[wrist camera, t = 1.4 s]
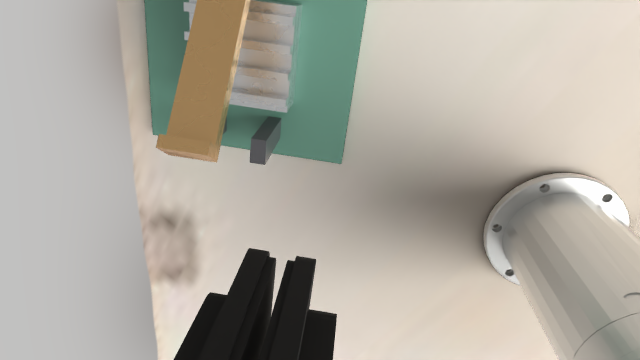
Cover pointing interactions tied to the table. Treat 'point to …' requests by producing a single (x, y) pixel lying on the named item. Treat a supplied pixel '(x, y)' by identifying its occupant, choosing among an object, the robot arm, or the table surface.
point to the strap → (206, 80)
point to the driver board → (310, 83)
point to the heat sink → (265, 55)
